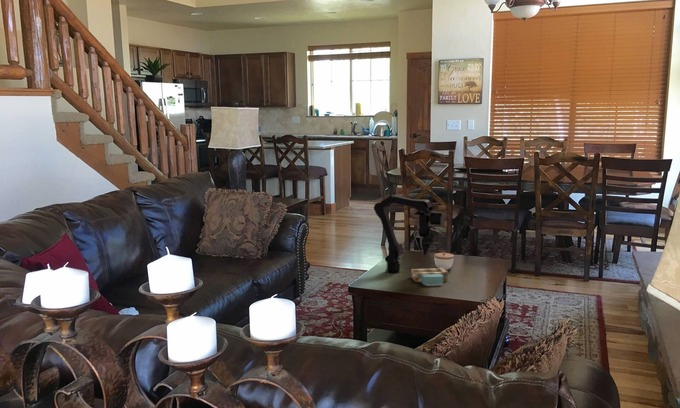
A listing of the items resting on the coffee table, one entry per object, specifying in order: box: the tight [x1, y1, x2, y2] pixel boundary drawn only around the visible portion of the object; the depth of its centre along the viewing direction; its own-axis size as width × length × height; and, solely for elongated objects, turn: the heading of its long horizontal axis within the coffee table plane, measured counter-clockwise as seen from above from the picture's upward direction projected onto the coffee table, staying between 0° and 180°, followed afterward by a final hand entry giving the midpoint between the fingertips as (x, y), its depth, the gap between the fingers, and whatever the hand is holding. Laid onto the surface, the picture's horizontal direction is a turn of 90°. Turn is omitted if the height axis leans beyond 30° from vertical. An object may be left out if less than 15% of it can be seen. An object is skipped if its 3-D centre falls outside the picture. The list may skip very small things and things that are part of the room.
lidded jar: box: [433, 251, 455, 271], centre depth 316 cm, size 11×11×9 cm
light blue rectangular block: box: [420, 274, 444, 286], centre depth 287 cm, size 10×4×4 cm, turn 97°
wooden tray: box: [410, 267, 449, 283], centre depth 295 cm, size 17×8×5 cm, turn 96°
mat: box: [425, 283, 444, 287], centre depth 287 cm, size 9×5×1 cm, turn 96°
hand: (422, 252), depth 299 cm, fingers open, 9 cm apart
